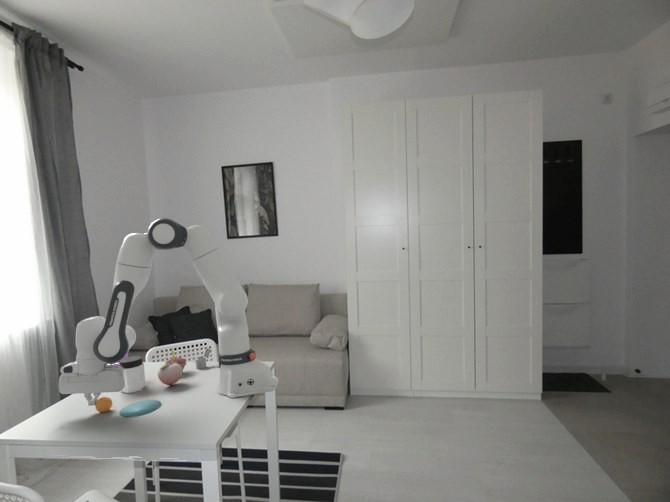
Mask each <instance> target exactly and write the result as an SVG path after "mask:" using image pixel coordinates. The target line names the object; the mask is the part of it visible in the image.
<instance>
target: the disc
mask: <svg viewBox="0 0 670 502" xmlns="http://www.w3.org/2000/svg"><path fill="white" fill-rule="evenodd" d="M161 406H162V402H161V401H160V400H158V399H146V400H145V399H144V400H140V401H135V402H132V403H129V404H128V405H125V406H124V407H122V408H121V409H120V410H119V411H118V412H119V413H118V414H119V415H120V416H122V417H125V418H131V417H139V416H144V415H147V414H149V413H151V412H155V411H156V410H158V409H159V408H160V407H161Z"/></svg>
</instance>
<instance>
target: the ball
mask: <svg viewBox="0 0 670 502" xmlns="http://www.w3.org/2000/svg"><path fill="white" fill-rule="evenodd" d="M112 400H113V399H111V398H110V397H109V396H102V397H100V398H98V401H97V402H96V405H94V406H95V407H94V408H95V409H96V411H97V412H99V413H106V412H108V411H110V410H111V408H112V407H113V401H112Z"/></svg>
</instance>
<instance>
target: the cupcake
mask: <svg viewBox="0 0 670 502" xmlns="http://www.w3.org/2000/svg"><path fill="white" fill-rule="evenodd" d="M174 352H175V351H174V349H173V348H171V355H172V358H170V359H167V360H166V362H165V364H169V361H170V363H171V362H174V361H175V362H179V365H180V366H181V367H182V369H183V370H184V368H185V367H186V365H187V361H186V359H185V358H183V357H179V356H178V357H177V356H176V357H175V353H174ZM165 364H164V365H165ZM177 364H178V363H177Z"/></svg>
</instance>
